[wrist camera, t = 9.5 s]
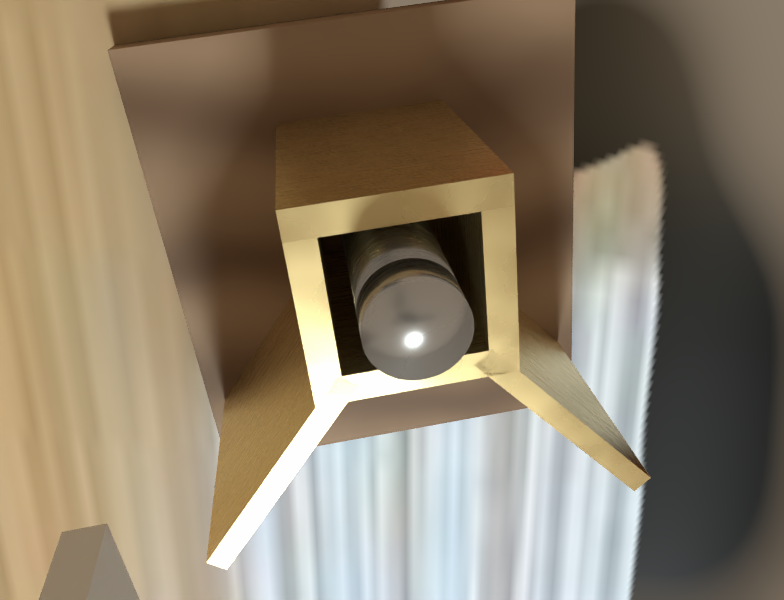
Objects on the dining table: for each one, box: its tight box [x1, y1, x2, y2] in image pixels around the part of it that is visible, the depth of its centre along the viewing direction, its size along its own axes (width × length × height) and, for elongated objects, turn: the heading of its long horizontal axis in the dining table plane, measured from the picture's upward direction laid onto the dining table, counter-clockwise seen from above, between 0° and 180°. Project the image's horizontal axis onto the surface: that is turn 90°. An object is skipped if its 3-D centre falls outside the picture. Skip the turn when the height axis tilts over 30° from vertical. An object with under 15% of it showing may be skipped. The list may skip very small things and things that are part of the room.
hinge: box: [206, 100, 650, 569], centre depth 27 cm, size 13×17×10 cm
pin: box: [341, 220, 474, 380], centre depth 25 cm, size 3×3×12 cm
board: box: [108, 0, 575, 446], centre depth 32 cm, size 20×18×1 cm
